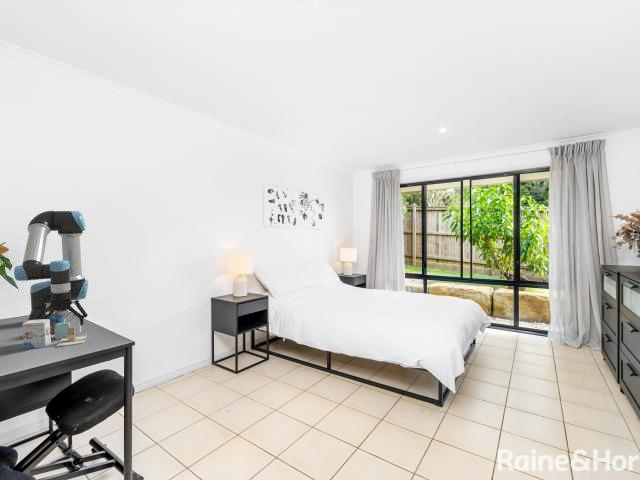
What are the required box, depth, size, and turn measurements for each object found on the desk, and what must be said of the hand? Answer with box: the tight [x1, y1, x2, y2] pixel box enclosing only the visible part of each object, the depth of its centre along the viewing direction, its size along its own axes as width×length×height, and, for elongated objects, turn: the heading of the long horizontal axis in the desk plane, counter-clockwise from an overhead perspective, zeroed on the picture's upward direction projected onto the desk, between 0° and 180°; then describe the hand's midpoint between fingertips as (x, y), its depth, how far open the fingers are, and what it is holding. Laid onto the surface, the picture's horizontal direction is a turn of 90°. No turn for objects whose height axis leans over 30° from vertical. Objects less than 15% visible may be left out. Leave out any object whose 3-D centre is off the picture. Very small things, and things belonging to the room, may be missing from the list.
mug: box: [45, 310, 76, 334], centre depth 166 cm, size 12×9×11 cm
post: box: [55, 325, 88, 348], centre depth 150 cm, size 12×10×7 cm
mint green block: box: [54, 321, 71, 341], centre depth 157 cm, size 5×5×7 cm
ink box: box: [22, 319, 52, 350], centre depth 145 cm, size 9×5×12 cm, turn 106°
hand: (62, 334), depth 156 cm, fingers open, 13 cm apart
